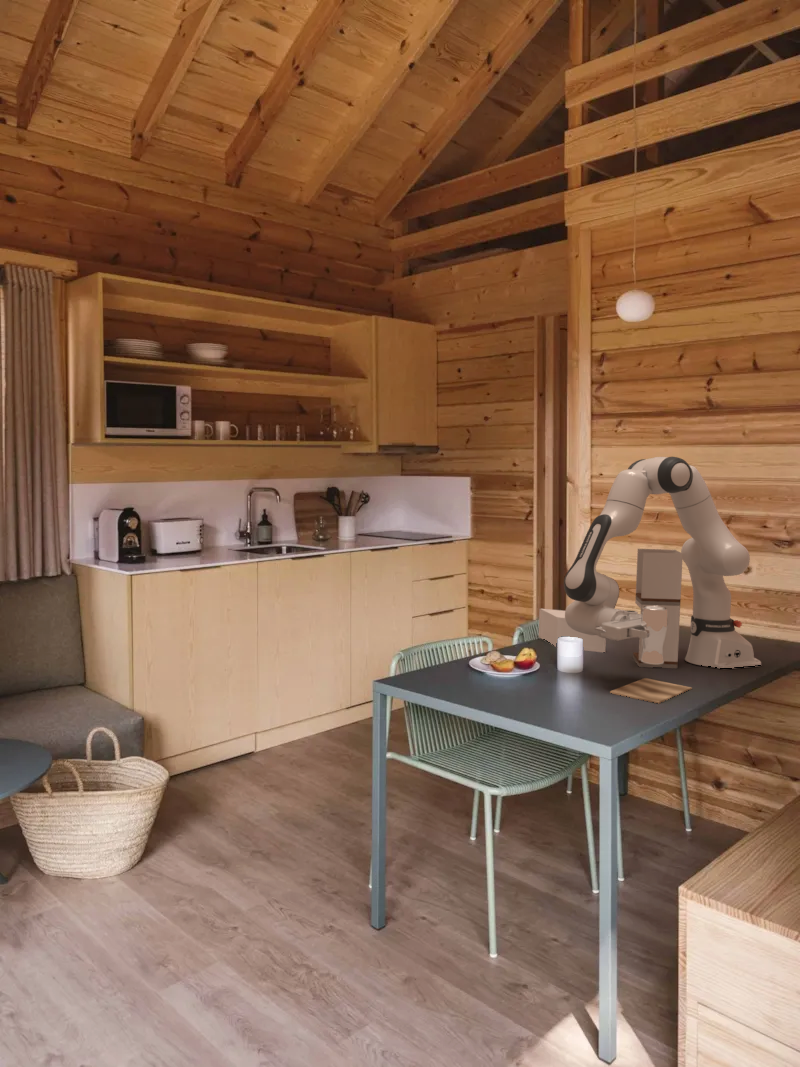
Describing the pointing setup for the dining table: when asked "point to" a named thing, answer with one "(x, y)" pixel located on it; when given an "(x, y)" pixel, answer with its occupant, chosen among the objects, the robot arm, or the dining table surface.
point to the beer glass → (654, 633)
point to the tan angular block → (565, 630)
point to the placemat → (651, 690)
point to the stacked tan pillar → (660, 596)
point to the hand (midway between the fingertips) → (656, 633)
